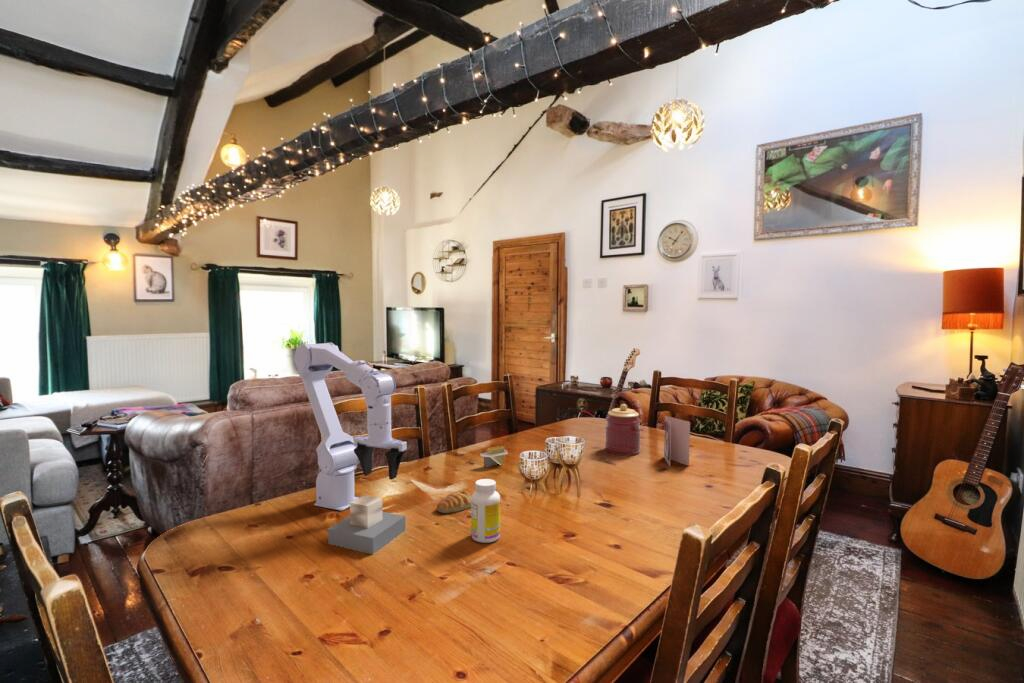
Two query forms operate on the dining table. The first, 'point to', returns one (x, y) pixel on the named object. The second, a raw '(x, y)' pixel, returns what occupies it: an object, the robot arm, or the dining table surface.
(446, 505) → the pastry
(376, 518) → the cream block
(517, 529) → the dining table surface
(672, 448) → the greeting card
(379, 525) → the gray panel
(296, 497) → the dining table surface
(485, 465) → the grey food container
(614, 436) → the canister
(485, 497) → the supplement bottle
